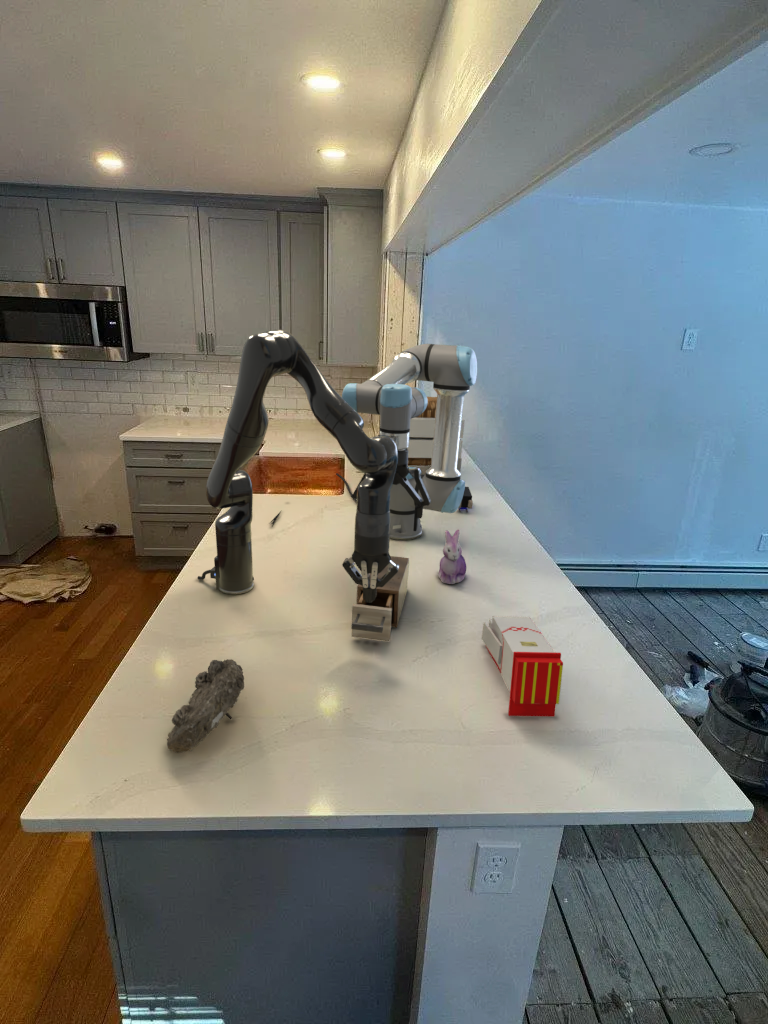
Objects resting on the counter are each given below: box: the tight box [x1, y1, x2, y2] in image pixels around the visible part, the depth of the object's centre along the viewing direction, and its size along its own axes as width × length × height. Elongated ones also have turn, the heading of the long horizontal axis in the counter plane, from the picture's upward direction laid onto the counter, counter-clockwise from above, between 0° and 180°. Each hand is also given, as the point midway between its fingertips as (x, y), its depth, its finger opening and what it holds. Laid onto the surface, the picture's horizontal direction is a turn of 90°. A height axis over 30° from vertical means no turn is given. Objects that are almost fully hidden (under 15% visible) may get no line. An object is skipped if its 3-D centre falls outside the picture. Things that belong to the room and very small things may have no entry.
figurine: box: [438, 528, 467, 585], centre depth 166 cm, size 9×10×15 cm
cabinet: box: [356, 555, 410, 629], centre depth 149 cm, size 20×10×10 cm, turn 171°
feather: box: [268, 510, 282, 527], centre depth 212 cm, size 2×28×2 cm
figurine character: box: [458, 486, 474, 513], centre depth 227 cm, size 7×8×15 cm
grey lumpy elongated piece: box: [166, 658, 245, 754], centre depth 106 cm, size 22×10×15 cm
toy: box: [481, 615, 564, 718], centre depth 123 cm, size 12×13×30 cm
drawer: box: [350, 592, 395, 642], centre depth 139 cm, size 24×9×8 cm, turn 171°
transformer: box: [407, 396, 465, 474], centre depth 268 cm, size 34×33×41 cm
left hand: (369, 601), depth 127 cm, fingers closed
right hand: (389, 526), depth 149 cm, fingers open, 13 cm apart
